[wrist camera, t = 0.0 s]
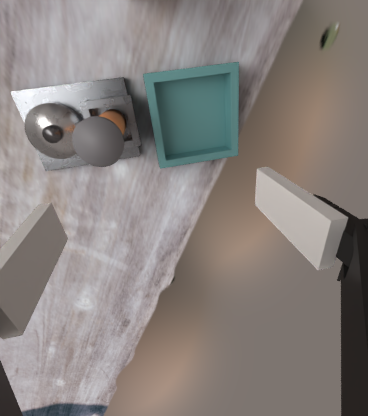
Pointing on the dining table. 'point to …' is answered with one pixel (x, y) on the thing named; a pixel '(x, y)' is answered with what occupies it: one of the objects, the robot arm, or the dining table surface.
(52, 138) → the silver rectangular stand
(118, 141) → the pin
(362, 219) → the robot arm
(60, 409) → the dining table surface
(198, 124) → the tray
